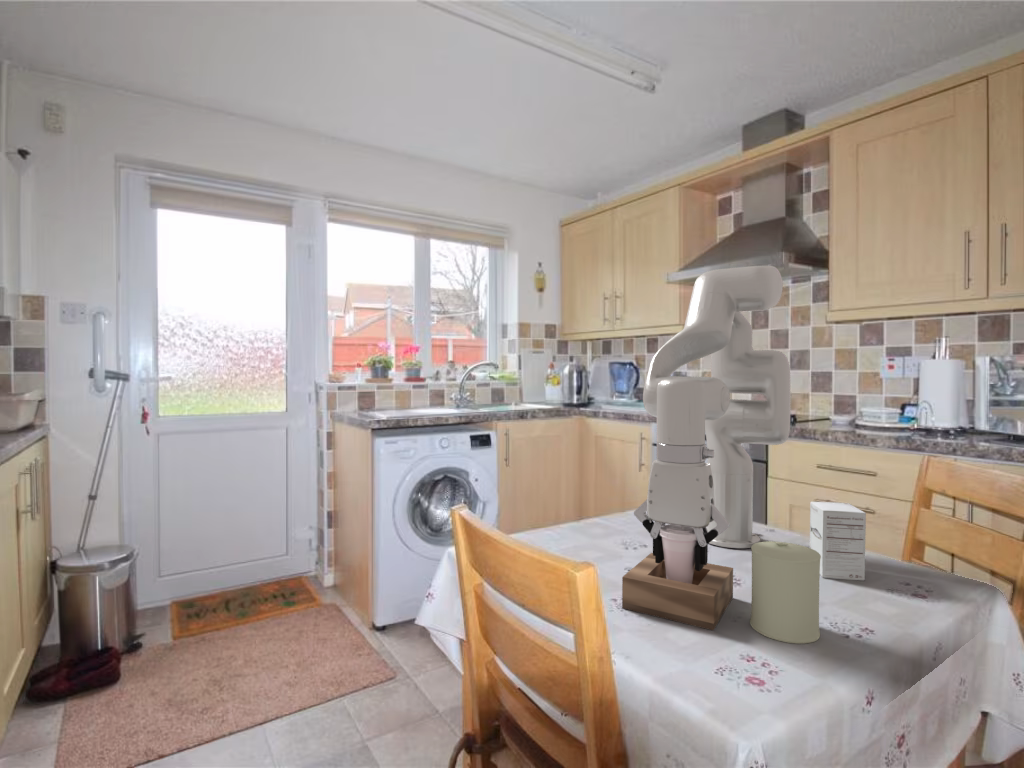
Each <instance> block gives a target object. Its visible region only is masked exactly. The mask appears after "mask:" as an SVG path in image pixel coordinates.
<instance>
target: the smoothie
mask: <svg viewBox="0 0 1024 768" xmlns="http://www.w3.org/2000/svg"><path fill="white" fill-rule="evenodd" d="M659 534H660V536H662V544H663V552H664V560H665V569H666V577H667V579H669V580H674V581H679V582H684V583H689V584H692V581H693V573H694V566H695V546H696V545H697V541H698V540H697V537H696V534H695V532H694V529H693V527H686V526H679V525H673V524H665V525H664V526H662V527H661V528H660V533H659Z"/></svg>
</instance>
